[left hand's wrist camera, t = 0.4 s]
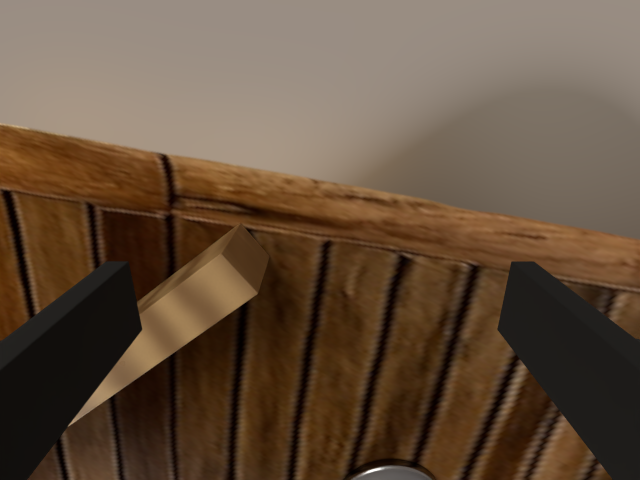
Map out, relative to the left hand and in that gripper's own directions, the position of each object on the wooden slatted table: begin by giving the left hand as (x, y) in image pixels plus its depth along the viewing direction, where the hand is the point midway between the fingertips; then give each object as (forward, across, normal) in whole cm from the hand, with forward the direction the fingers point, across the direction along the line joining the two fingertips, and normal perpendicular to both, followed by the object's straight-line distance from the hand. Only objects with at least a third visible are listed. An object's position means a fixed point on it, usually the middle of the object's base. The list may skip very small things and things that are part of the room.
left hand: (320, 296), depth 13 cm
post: (+26, +30, +25) cm, 47 cm away
